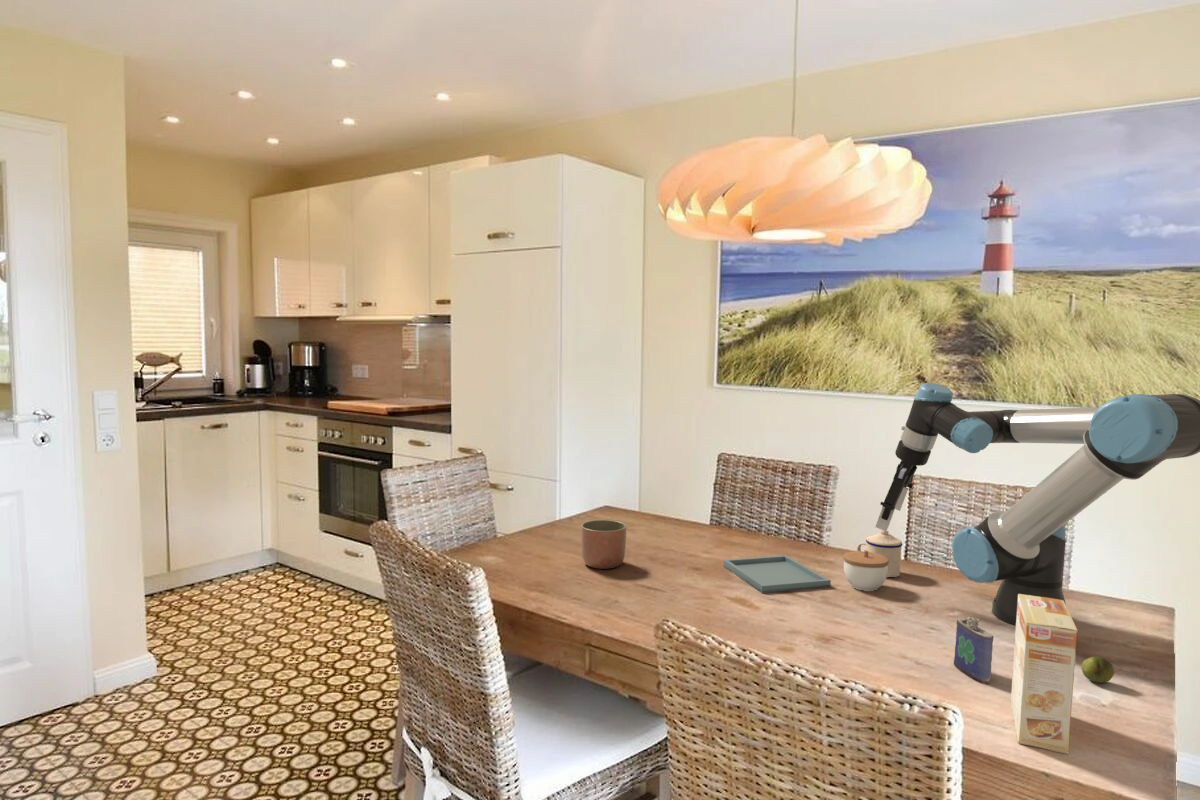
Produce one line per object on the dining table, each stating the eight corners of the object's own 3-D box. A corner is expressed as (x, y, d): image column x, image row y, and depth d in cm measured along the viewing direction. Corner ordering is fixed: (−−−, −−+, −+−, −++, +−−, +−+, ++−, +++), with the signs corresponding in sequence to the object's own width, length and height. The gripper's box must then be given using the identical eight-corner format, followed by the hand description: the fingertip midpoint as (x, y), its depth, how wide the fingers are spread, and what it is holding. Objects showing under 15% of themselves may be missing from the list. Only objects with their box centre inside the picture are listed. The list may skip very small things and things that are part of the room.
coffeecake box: (1070, 755, 113) (1079, 630, 111) (1016, 744, 116) (1024, 622, 114) (1057, 711, 127) (1065, 598, 125) (1009, 701, 130) (1016, 592, 128)
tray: (830, 587, 188) (830, 580, 188) (762, 593, 183) (762, 586, 183) (785, 561, 209) (786, 555, 209) (723, 566, 204) (723, 559, 204)
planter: (612, 574, 196) (612, 533, 195) (571, 566, 202) (572, 527, 201) (633, 562, 206) (634, 523, 205) (595, 555, 212) (595, 517, 212)
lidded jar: (867, 578, 195) (868, 543, 194) (896, 591, 185) (898, 554, 184) (833, 582, 192) (834, 547, 191) (861, 596, 182) (863, 558, 181)
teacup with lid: (906, 573, 200) (909, 531, 199) (891, 581, 193) (893, 536, 192) (864, 563, 208) (866, 522, 207) (848, 570, 202) (850, 527, 201)
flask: (993, 684, 136) (997, 626, 135) (979, 684, 136) (982, 627, 135) (962, 662, 145) (965, 608, 144) (948, 663, 145) (951, 609, 144)
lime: (1076, 678, 139) (1078, 652, 139) (1097, 676, 140) (1099, 650, 140) (1097, 689, 135) (1099, 662, 134) (1119, 687, 136) (1121, 660, 135)
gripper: (912, 424, 193) (886, 494, 201) (886, 455, 173) (859, 531, 181) (941, 435, 189) (914, 506, 198) (919, 467, 169) (890, 544, 178)
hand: (888, 518), depth 190 cm, fingers open, 13 cm apart
